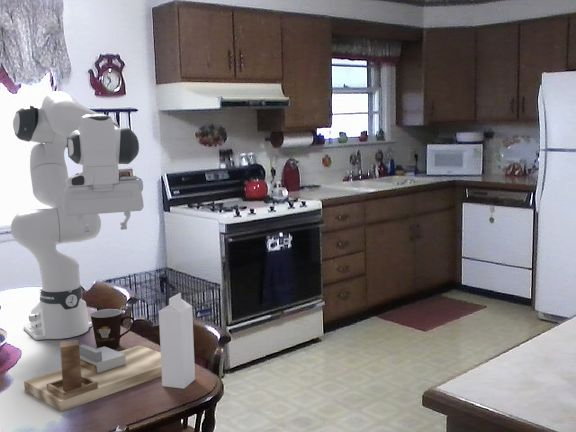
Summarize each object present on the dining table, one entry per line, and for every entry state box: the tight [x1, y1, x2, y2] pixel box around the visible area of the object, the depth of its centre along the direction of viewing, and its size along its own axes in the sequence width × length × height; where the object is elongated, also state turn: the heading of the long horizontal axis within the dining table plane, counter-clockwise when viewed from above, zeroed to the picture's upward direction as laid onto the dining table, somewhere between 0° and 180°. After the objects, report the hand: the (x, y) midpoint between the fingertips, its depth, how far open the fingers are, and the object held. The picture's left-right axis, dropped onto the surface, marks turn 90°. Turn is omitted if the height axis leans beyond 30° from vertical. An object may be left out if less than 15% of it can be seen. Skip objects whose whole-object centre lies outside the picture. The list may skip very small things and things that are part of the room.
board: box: [23, 344, 162, 413], centre depth 157 cm, size 18×33×4 cm, turn 138°
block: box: [59, 339, 82, 392], centre depth 145 cm, size 4×4×11 cm
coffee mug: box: [89, 308, 136, 350], centre depth 181 cm, size 12×9×10 cm
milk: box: [158, 292, 196, 390], centre depth 153 cm, size 6×6×22 cm
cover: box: [79, 344, 126, 373], centre depth 161 cm, size 10×8×5 cm
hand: (105, 230), depth 164 cm, fingers open, 8 cm apart
